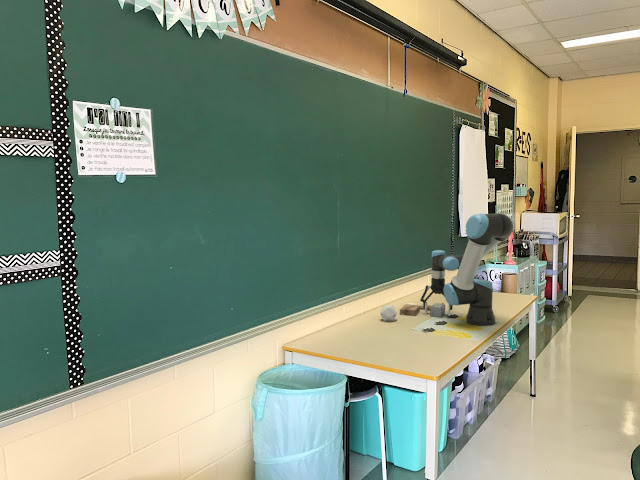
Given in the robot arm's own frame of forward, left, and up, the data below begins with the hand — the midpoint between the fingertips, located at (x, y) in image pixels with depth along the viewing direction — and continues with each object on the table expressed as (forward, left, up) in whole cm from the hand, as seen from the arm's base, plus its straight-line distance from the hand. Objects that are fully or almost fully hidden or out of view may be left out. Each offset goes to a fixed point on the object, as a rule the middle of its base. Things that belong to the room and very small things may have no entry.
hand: (437, 314), depth 287 cm
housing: (0, 0, 0) cm, 0 cm away
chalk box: (+17, -10, 0) cm, 20 cm away
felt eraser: (+6, -11, -1) cm, 12 cm away
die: (+23, +21, 0) cm, 32 cm away
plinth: (+16, 0, 0) cm, 16 cm away
